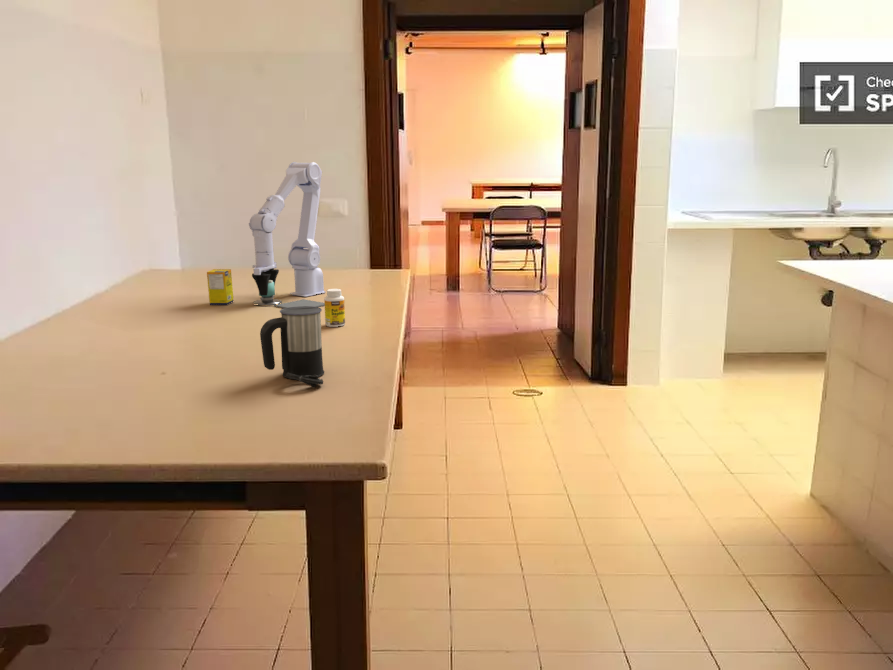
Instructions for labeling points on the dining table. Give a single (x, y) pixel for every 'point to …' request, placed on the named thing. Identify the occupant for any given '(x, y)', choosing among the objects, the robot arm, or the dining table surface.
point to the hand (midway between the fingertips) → (266, 293)
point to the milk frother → (296, 344)
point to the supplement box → (220, 286)
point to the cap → (270, 288)
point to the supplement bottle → (334, 308)
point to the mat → (301, 304)
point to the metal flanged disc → (267, 301)
